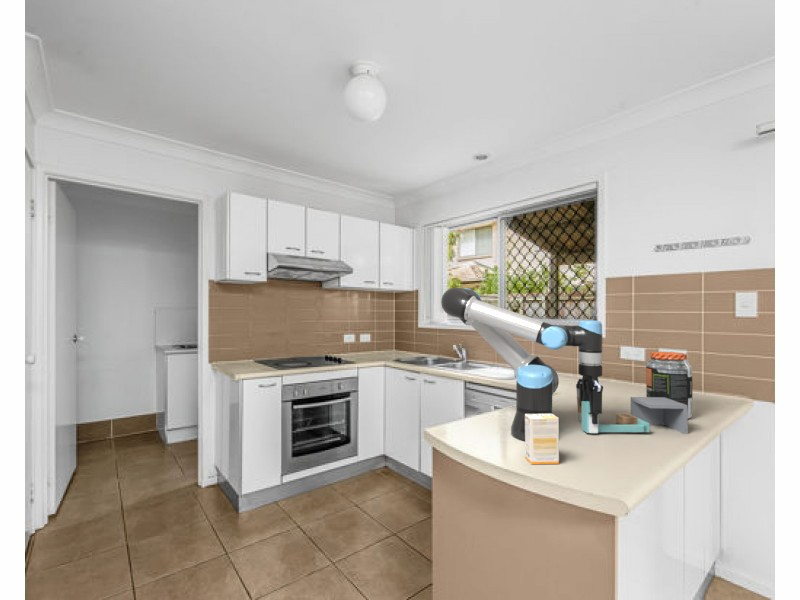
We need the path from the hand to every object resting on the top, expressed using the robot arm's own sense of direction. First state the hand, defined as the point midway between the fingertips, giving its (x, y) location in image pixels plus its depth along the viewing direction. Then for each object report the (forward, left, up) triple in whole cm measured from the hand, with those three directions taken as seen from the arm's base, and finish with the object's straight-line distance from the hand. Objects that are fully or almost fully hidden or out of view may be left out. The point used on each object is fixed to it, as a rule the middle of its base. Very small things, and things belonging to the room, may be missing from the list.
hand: (590, 430), depth 136 cm
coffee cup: (+6, +15, -1) cm, 16 cm away
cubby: (+28, +7, -1) cm, 29 cm away
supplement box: (-26, -26, -1) cm, 37 cm away
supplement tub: (+44, +25, -1) cm, 51 cm away
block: (+16, +5, -1) cm, 16 cm away
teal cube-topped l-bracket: (+9, +3, 0) cm, 10 cm away
